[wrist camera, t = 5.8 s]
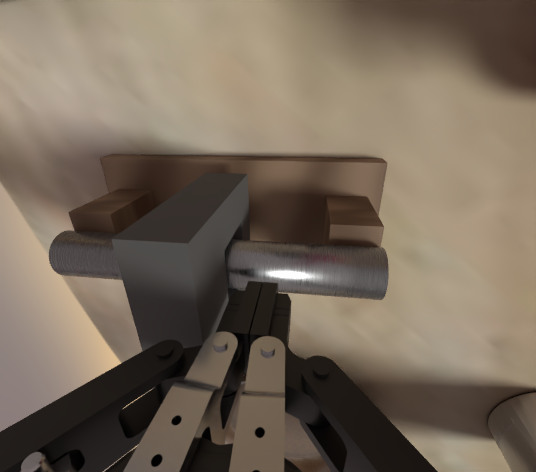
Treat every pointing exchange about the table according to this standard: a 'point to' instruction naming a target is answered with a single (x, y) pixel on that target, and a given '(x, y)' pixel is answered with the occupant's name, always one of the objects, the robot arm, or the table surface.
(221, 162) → the pipe stand
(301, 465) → the plant saucer
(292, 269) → the pipe
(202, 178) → the collar
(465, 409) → the table surface
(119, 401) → the robot arm
